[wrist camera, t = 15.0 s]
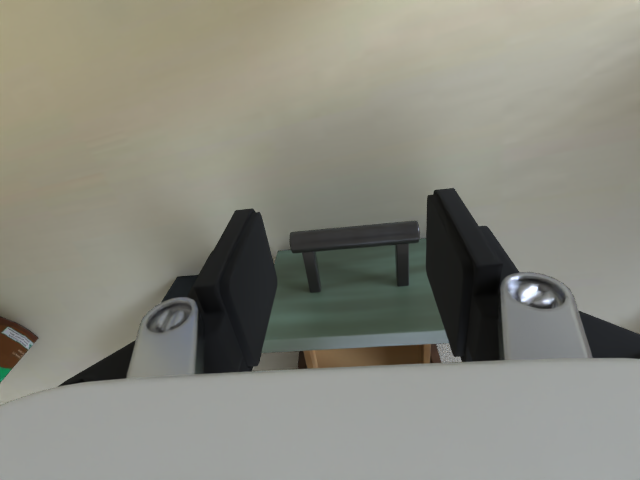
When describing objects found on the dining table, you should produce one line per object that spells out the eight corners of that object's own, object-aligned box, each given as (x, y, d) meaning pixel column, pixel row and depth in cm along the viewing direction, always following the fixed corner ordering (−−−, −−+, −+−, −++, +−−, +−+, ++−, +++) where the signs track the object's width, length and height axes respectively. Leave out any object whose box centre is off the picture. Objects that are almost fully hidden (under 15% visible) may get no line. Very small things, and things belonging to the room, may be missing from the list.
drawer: (265, 200, 27) (232, 280, 19) (440, 182, 26) (487, 260, 18) (308, 378, 39) (299, 476, 30) (432, 372, 37) (458, 474, 29)
